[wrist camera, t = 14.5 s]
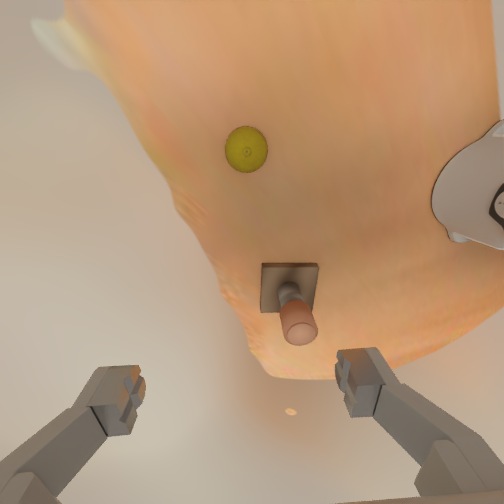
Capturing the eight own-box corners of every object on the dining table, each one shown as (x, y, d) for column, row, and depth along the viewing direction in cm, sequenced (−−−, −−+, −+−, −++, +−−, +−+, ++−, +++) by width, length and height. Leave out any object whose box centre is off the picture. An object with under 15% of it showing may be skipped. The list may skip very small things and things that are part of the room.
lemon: (272, 152, 35) (279, 156, 28) (242, 176, 36) (242, 186, 29) (249, 118, 33) (251, 113, 26) (219, 145, 34) (212, 147, 27)
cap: (287, 296, 37) (293, 317, 33) (315, 305, 38) (325, 327, 34) (274, 319, 39) (278, 342, 35) (301, 327, 40) (308, 351, 36)
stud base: (316, 263, 43) (330, 286, 37) (310, 307, 48) (320, 335, 41) (262, 263, 43) (265, 286, 36) (260, 307, 47) (263, 335, 41)
